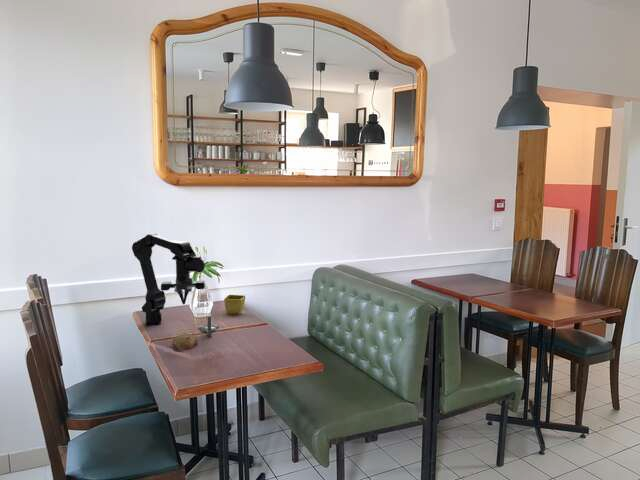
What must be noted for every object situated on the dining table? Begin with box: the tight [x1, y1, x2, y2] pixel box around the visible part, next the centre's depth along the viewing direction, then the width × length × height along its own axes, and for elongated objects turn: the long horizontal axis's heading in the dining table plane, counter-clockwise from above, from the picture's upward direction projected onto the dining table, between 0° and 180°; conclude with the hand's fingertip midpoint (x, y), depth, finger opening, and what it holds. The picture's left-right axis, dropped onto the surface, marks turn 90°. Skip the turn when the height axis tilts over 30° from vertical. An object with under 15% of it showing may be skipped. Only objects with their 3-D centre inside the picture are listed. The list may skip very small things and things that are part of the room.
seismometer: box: [198, 312, 220, 338], centre depth 223 cm, size 19×9×9 cm, turn 14°
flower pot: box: [223, 294, 246, 315], centre depth 252 cm, size 9×9×9 cm
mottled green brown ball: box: [171, 333, 198, 353], centre depth 204 cm, size 10×10×8 cm
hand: (183, 304), depth 225 cm, fingers closed
